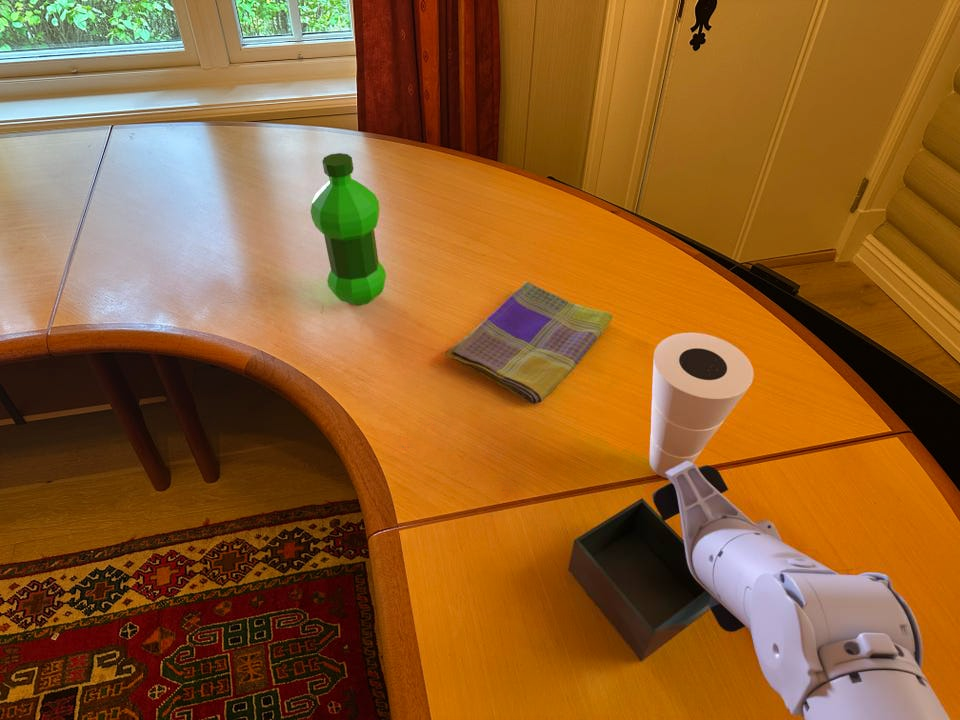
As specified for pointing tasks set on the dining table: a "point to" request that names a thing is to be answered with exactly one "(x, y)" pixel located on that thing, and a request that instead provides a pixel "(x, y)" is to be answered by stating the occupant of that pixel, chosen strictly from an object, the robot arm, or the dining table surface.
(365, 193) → the plastic bottle
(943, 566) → the dining table surface
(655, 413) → the white paper towel roll
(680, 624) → the carton flap
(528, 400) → the dish towel
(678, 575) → the carton
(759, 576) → the robot arm
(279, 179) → the dining table surface
